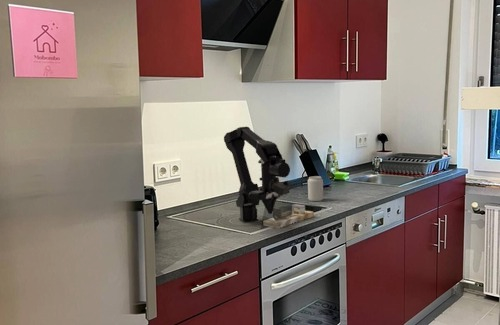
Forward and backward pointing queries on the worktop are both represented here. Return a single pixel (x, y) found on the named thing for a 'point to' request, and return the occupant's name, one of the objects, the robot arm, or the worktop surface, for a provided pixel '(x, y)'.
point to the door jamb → (288, 219)
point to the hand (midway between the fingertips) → (270, 213)
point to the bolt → (278, 214)
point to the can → (315, 188)
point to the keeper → (301, 208)
